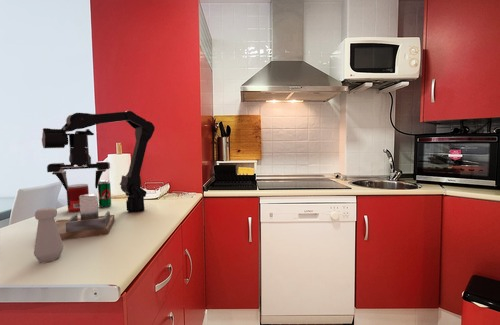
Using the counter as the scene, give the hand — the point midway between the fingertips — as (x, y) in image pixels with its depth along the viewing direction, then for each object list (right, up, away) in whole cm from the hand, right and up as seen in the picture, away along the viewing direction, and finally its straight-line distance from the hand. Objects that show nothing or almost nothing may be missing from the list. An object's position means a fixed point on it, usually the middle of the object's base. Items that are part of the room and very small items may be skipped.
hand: (82, 189), depth 93 cm
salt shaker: (+12, -15, -30) cm, 36 cm away
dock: (+6, -13, -9) cm, 17 cm away
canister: (+9, -11, -10) cm, 17 cm away
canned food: (-13, -11, +18) cm, 25 cm away
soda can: (-5, -11, +23) cm, 26 cm away
